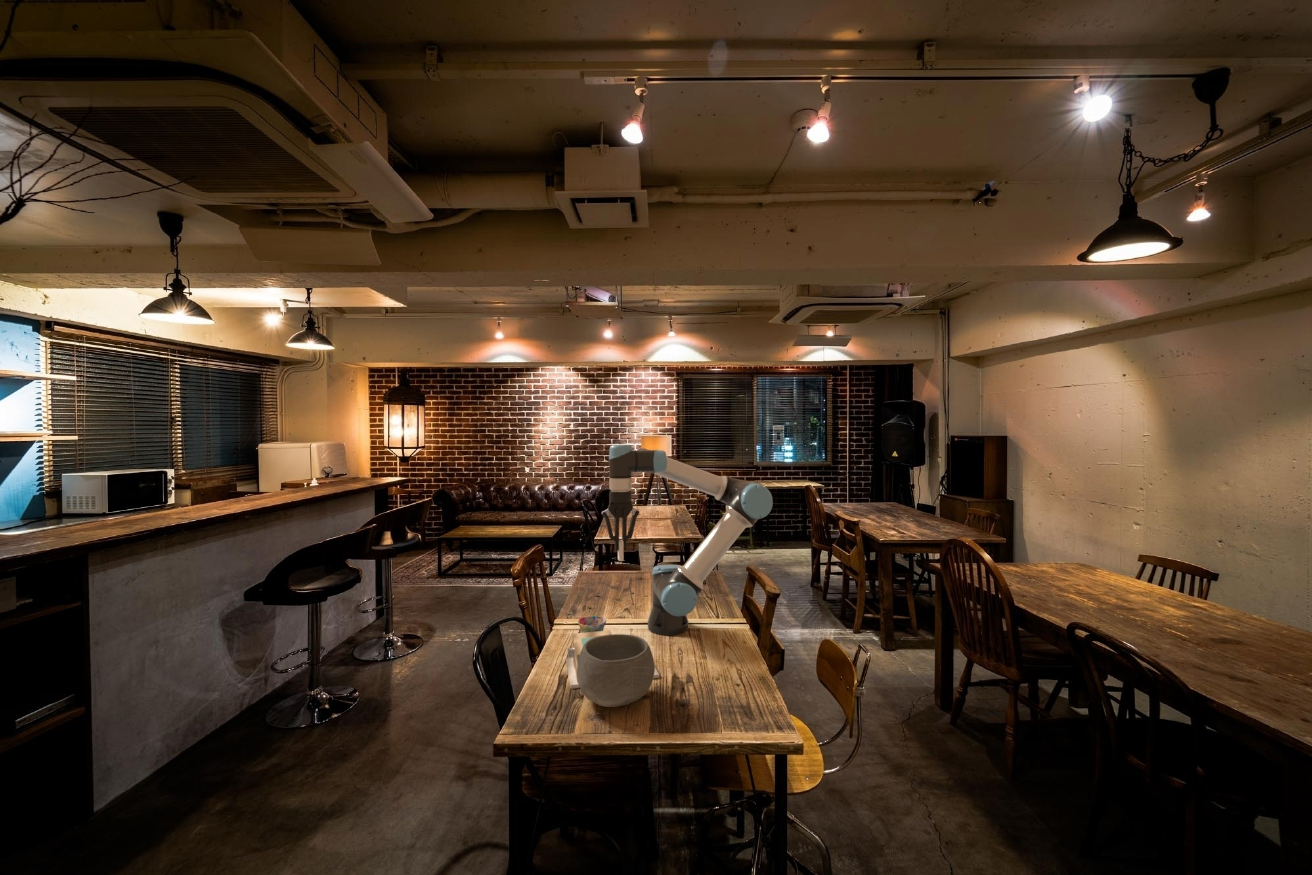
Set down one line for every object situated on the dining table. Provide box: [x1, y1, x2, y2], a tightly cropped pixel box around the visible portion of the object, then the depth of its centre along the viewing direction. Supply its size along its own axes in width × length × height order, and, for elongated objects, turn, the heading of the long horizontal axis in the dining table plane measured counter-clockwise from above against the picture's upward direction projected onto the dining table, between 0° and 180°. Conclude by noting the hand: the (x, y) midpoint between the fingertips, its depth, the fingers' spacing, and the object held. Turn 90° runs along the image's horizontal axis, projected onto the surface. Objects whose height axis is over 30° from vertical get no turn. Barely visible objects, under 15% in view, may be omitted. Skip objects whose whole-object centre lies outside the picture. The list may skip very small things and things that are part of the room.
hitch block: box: [565, 629, 660, 689], centre depth 159 cm, size 26×18×9 cm
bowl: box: [577, 633, 656, 708], centre depth 141 cm, size 21×21×15 cm
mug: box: [577, 615, 607, 633], centre depth 172 cm, size 12×9×11 cm
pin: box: [567, 647, 574, 658], centre depth 161 cm, size 15×5×5 cm, turn 104°
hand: (620, 559), depth 176 cm, fingers closed
